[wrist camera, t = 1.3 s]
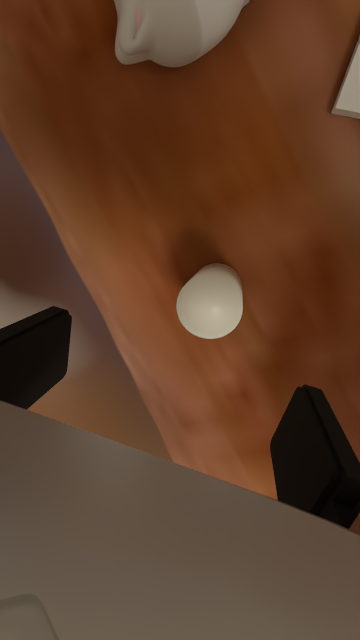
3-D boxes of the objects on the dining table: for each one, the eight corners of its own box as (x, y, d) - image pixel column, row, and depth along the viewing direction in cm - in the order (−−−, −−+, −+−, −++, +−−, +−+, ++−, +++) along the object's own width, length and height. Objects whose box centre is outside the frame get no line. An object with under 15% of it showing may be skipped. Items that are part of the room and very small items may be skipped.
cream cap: (249, 271, 25) (252, 285, 19) (233, 318, 27) (230, 346, 21) (199, 257, 26) (185, 266, 19) (186, 304, 28) (170, 327, 21)
